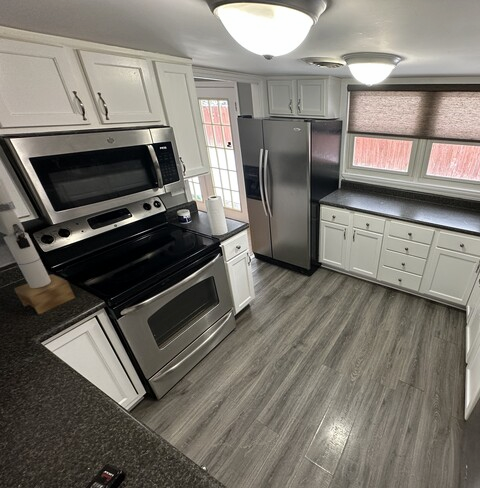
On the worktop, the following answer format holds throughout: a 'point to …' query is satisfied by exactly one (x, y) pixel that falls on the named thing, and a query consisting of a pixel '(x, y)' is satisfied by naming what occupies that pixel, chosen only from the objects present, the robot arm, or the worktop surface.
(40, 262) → the cylindrical container
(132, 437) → the worktop surface
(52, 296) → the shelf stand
